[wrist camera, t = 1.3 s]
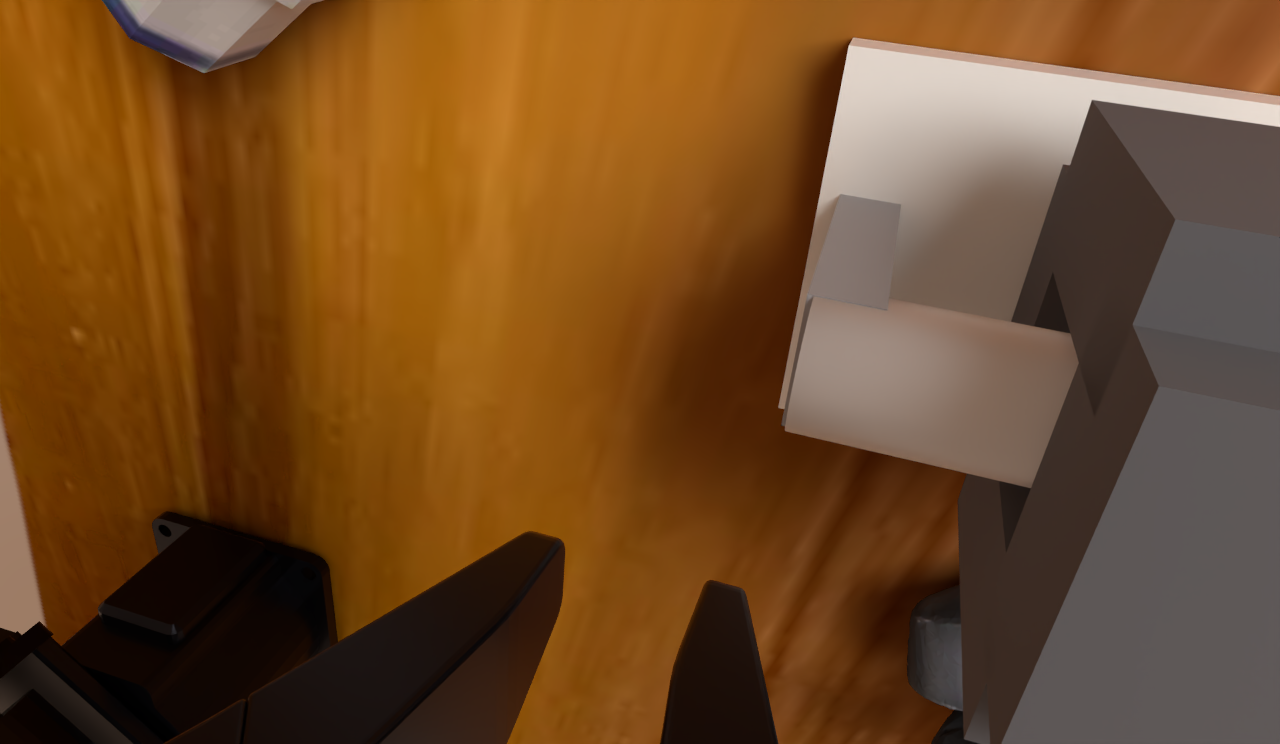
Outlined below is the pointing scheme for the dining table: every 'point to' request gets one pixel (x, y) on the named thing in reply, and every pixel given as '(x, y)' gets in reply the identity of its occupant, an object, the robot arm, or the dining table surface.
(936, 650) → the can opener
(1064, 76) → the pipe stand
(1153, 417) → the stepped block
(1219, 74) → the dining table surface
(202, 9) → the light grey long piece
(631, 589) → the dining table surface
